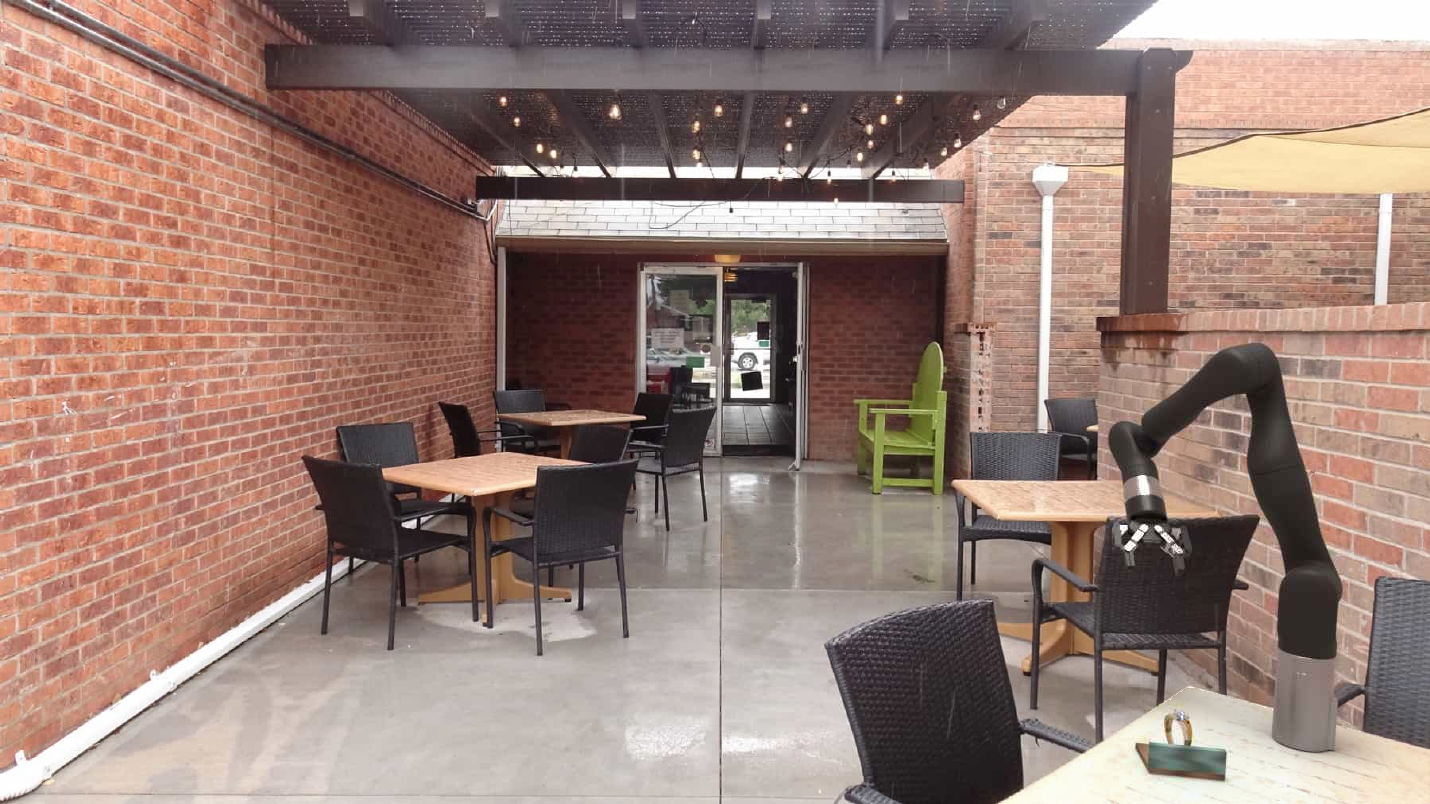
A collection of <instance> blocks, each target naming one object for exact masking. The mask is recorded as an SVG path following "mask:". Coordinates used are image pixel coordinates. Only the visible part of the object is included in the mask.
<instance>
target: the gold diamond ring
mask: <svg viewBox="0 0 1430 804" xmlns="http://www.w3.org/2000/svg"><path fill="white" fill-rule="evenodd" d="M1189 719H1190V716H1189V715H1188V714H1187V713H1186V712H1185V711H1184V710H1183V709H1181V710H1180V712H1179V711H1178V710H1177V709H1176V708H1173V713H1171V712H1169V713H1168V714H1165V716H1164V719H1163V726H1164V733H1165V734H1164V735H1165V738H1166V741H1167V744H1175V741H1174V738H1173V731H1172V730H1173V729H1172V727H1173V723H1174V720H1175V722H1177V724H1178V725H1179V726H1180V728H1181V730H1182V731H1181V732H1182V735H1183V744H1182V745H1186V746H1192V742H1193V728H1192V724H1191V722H1190V720H1189Z"/></svg>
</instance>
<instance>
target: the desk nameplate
mask: <svg viewBox="0 0 1430 804" xmlns="http://www.w3.org/2000/svg"><path fill="white" fill-rule="evenodd" d="M1135 750H1136V752H1137V754H1138V755H1139V758H1140V759H1141V760H1142V763H1143V765H1144V767H1145V768H1146V770H1147V772H1148V773H1149V774H1154V775H1163V776H1165V775H1166V776H1173V777H1174V776H1175V777H1184V778H1194V779H1195V778H1196V779H1202V780H1203V779H1205V780H1215V781H1223V782H1225V781H1226V774H1227V773H1226V772H1227V771H1226V769H1227V758H1228V757H1227V755H1228V753H1227V750H1226V749H1225V748H1217V747H1205V746H1195V745H1191V746H1186V745H1183V744H1175V743H1174V744H1168V743H1163V742H1155V741H1154V742H1151V741H1149V742H1148V743H1143V742H1135Z"/></svg>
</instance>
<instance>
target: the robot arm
mask: <svg viewBox="0 0 1430 804" xmlns="http://www.w3.org/2000/svg"><path fill="white" fill-rule="evenodd" d="M1280 366H1281V365H1280V363H1279V360H1278V357H1277V356H1276V354H1275V352H1274V351H1273V350H1272V349H1271V348H1270V347H1269V346H1267V345H1266V344H1264V343H1261V342H1250V343H1249V342H1248V343H1243V344H1239V345H1234V346H1229V347H1225V348H1223V349H1220V350H1218V352H1216V353H1215V354H1214V355H1213V356H1212V357H1211V358H1210V359H1209V360H1208V361H1207V362H1206V363H1205V364H1204V365H1203V366H1202V367H1201V368H1200V369H1199V370H1198V371H1197V372H1196V373H1195V374H1194V375H1193V376H1192V377H1191V378H1190V379H1189V380H1188V381H1187V382H1186V383H1185V384H1183V385H1182V386H1181V387H1180V388H1178V389H1177V390H1176V391H1174V392H1173V393H1171V394H1170V395H1168V397H1166V398H1164V399H1163V400H1161V401H1160V402H1158V403H1157V404H1155V405H1154V406H1153V407H1151V408H1149V409H1148V410H1147V411H1146V412H1145V413H1144V414H1143V415H1142V417H1141V419H1140V424H1138V423H1135V422H1131V421H1127V420H1120V421H1116V422H1115V423H1114V424H1113V425H1112V426H1111V427H1110V429H1109V432H1108V435H1107V443H1108V448H1109V450H1110V453H1111V455H1112V457H1113V459H1114V461H1115V463H1116V465H1117V467H1118V469H1119V471H1120V473H1121V479H1122V487H1123V491H1122V493H1123V506H1124V509H1125V515H1126V522H1127V525H1124V524H1123V525H1122V524H1121V523H1120V522H1117V521H1115V522H1114V523H1113V526H1112V529H1111V540H1112V542H1111V543H1112V552H1113V553H1114V554H1121V555H1122V556H1123V562H1124V567H1125V569H1126V570H1127V571H1128V573H1134V572H1135V570H1136V564H1135V563H1136V561H1135V555H1134V551H1135V550H1136V548H1138V546H1140V547H1141V548H1144V549H1145V548H1152V549H1159V548H1160V549H1161V550H1163V552H1165V553H1166V554H1169V555H1170V556H1171V557H1172V558H1173V559H1172V563H1173V568H1174V574H1175V576H1181V575H1182V574H1183V573H1184V571H1185V567H1186V566H1185V562H1184V561H1185V560H1184V558H1187V559H1188V558H1189V557H1190V554H1191V553H1192V551H1193V547H1192V543H1191V539H1190V536H1189V531H1188V529H1187V528H1188V527H1187V526H1185V525H1180V527H1178V528H1177V527H1171V526H1170V524H1169V520H1168V515H1167V509H1166V503H1165V498H1164V493H1163V489H1162V487H1161V483H1160V478H1159V477H1160V476H1159V473H1158V467H1157V464H1156V463H1155V460H1153V458H1155V457H1156V456H1157V455H1158V454H1159V453H1160V451H1161V450H1162V449H1163V448H1164V446H1165V445H1166V444H1167V442H1169V440H1170V439H1171V438H1172V437H1173V436H1176V434H1178V433H1181V431H1183V430H1185V429H1186V428H1188V427H1189V426H1190V425H1192V423H1194V421H1196V419H1198V418H1199V416H1200V414H1201V413H1202V412H1203V411H1204V410H1205V409H1207V407H1209V406H1211V405H1213V404H1215V403H1217V402H1219V401H1222V400H1225V399H1228V398H1230V397H1233V396H1242V395H1245V397H1246V400H1247V403H1248V407H1249V410H1250V411H1249V412H1250V416H1251V430H1250V436H1249V441H1248V446H1247V451H1246V452H1247V453H1246V468H1247V472H1248V475H1249V480H1250V482H1251V486H1252V490H1253V493H1254V496H1255V498H1256V501H1257V504H1258V505H1259V507H1260V510H1261V511H1262V514H1263V515H1264V517H1265V519H1266V520H1267V522H1268V524H1269V525H1270V527H1271V529H1272V531H1273V533H1274V535H1275V537H1276V539H1277V542H1278V545H1279V549H1280V552H1281V557H1282V563H1283V567H1284V574H1285V575H1284V577H1283V578H1282V580H1281V582H1280V584H1279V590H1278V597H1277V599H1278V601H1277V619H1276V621H1277V622H1276V632H1277V633H1276V634H1277V651H1276V653H1277V654H1276V655H1277V656H1276V665H1275V678H1274V679H1275V683H1274V697H1273V709H1272V712H1273V713H1272V723H1271V727H1272V728H1271V737H1272V739H1274V740H1275V741H1276V742H1277V743H1279V744H1281V745H1284V746H1286V747H1288V748H1291V749H1292V748H1293V749H1295V750H1299V751H1306V752H1311V753H1312V752H1313V753H1314V752H1315V753H1317V752H1325V751H1335V748H1336V747H1335V745H1336V735H1337V733H1336V732H1337V720H1338V708H1339V707H1338V706H1339V705H1338V704H1339V700H1338V698H1337V697H1335V694H1334V692H1335V677H1336V661H1337V655H1338V654H1337V651H1338V641H1337V625H1338V614H1339V613H1338V611H1339V610H1338V609H1339V603H1340V601H1341V599H1342V597H1343V589H1344V587H1343V583H1342V580H1341V578H1340V575H1339V572H1338V571H1337V568H1336V566H1335V564H1334V562H1333V560H1332V557H1331V554H1330V552H1329V550H1328V548H1327V545H1326V543H1325V540H1324V537H1323V535H1322V531H1321V527H1320V521H1319V518H1318V517H1319V516H1318V511H1317V507H1316V503H1315V498H1314V494H1313V490H1312V487H1311V483H1310V478H1309V475H1308V472H1307V469H1306V466H1305V463H1304V460H1303V457H1302V453H1301V452H1300V447H1299V445H1298V441H1297V437H1296V433H1295V430H1294V426H1293V423H1292V420H1291V419H1292V418H1291V417H1290V416H1291V415H1290V412H1289V408H1288V402H1287V401H1288V400H1287V396H1286V391H1285V386H1284V385H1285V384H1284V381H1283V374H1282V370H1281V367H1280ZM1124 533H1126V534H1127V535H1128V536H1129V537H1130V538H1131V539H1130V540H1129V541H1128V543H1127V544H1126V545H1125V544H1122V537H1123V535H1124ZM1171 535H1172V536H1174V537H1175V539H1176V541H1178V543H1179V545H1178V544H1177V543H1176V541H1175V540H1174V539H1173V538H1172V537H1171Z"/></svg>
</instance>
